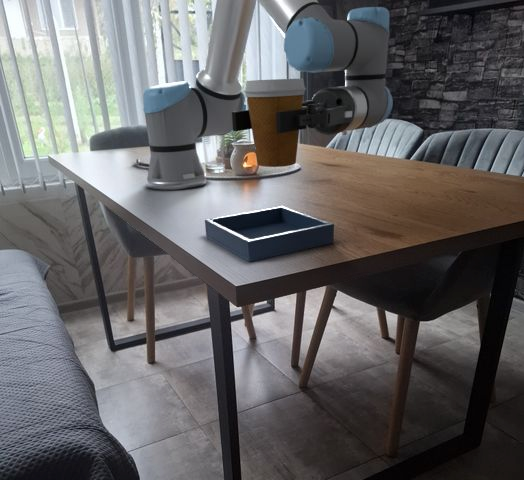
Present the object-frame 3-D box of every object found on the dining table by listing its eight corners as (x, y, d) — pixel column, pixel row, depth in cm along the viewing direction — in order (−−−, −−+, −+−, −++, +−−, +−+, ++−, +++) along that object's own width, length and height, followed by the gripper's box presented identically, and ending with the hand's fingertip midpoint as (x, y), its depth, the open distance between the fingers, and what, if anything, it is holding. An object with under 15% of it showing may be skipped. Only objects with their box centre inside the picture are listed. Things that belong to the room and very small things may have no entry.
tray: (206, 237, 84) (204, 219, 82) (282, 222, 90) (282, 205, 89) (249, 262, 72) (247, 241, 70) (333, 243, 78) (334, 223, 77)
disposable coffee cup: (260, 158, 84) (257, 79, 78) (313, 159, 81) (314, 77, 75) (237, 168, 77) (232, 81, 71) (294, 169, 73) (294, 79, 67)
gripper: (387, 135, 83) (312, 152, 68) (290, 131, 95) (208, 145, 80) (391, 85, 79) (313, 92, 65) (290, 88, 91) (204, 94, 76)
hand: (255, 122), depth 72 cm, fingers closed on disposable coffee cup, 8 cm apart
